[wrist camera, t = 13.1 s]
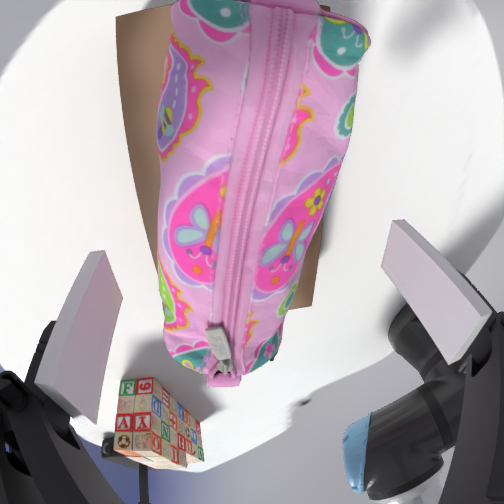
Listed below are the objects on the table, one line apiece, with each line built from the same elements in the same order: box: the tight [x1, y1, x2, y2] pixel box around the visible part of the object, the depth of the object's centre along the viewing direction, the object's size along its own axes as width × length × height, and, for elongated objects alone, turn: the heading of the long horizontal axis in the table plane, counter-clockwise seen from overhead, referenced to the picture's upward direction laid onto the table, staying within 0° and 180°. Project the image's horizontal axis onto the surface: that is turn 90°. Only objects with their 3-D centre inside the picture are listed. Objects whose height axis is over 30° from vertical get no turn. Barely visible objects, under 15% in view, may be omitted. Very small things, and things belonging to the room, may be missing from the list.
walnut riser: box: [116, 5, 330, 310], centre depth 20 cm, size 13×25×4 cm, turn 2°
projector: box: [101, 438, 155, 504], centre depth 48 cm, size 19×17×20 cm
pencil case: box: [156, 0, 371, 387], centre depth 14 cm, size 21×9×9 cm, turn 170°
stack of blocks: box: [114, 377, 204, 469], centre depth 38 cm, size 21×6×12 cm, turn 11°
